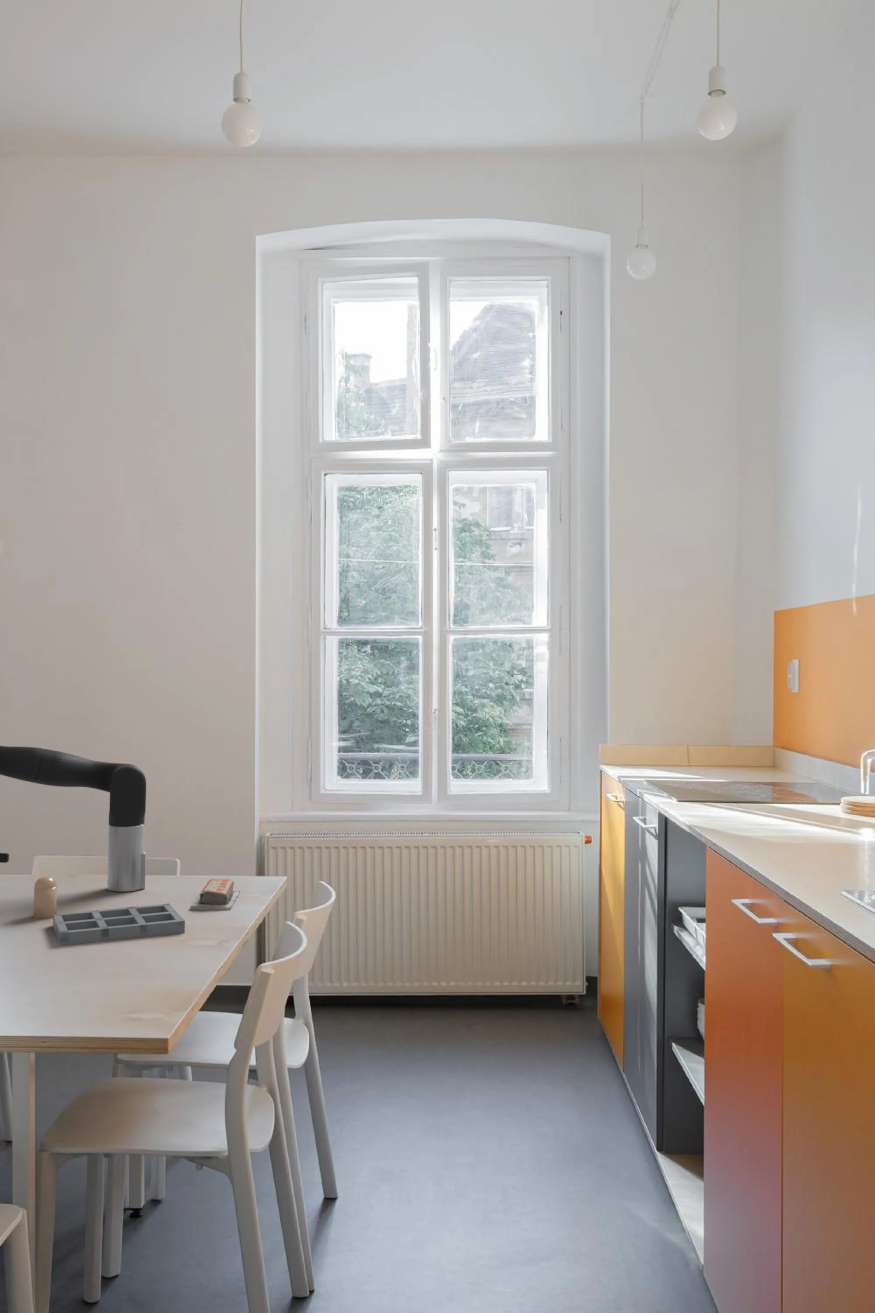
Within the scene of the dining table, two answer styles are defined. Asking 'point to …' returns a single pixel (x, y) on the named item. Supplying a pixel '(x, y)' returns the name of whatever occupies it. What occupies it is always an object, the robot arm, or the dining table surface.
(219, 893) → the packaged product
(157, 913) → the grey compartment tray
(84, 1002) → the dining table surface
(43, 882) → the tan domed cylinder
